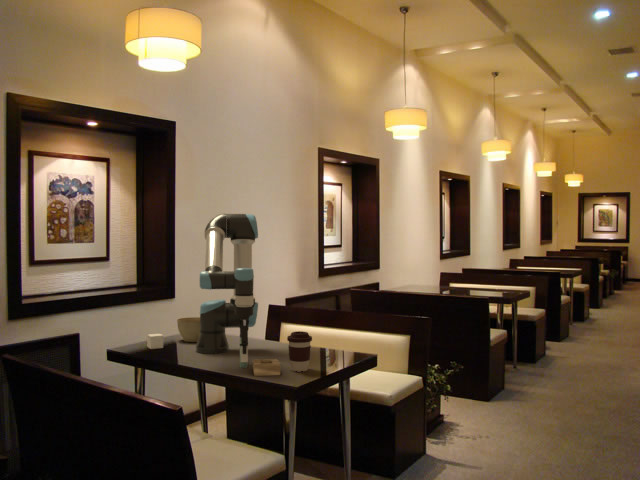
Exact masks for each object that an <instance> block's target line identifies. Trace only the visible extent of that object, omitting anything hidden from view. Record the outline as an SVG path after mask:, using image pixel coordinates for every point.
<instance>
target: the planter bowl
mask: <svg viewBox="0 0 640 480" xmlns="http://www.w3.org/2000/svg"><path fill="white" fill-rule="evenodd" d="M176 322H177V329H178V332H179V334H180V336H181V338H182V339H183V341H184V342H188V343H189V342H190V343H194V342H196V343H197V342H198V339H199V336H200V316H197V317H196V316H195V317H194V316H193V317H189V316H188V317H181V318H180V317H179V318H177V319H176Z"/></svg>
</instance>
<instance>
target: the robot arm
mask: <svg viewBox="0 0 640 480" xmlns="http://www.w3.org/2000/svg"><path fill="white" fill-rule="evenodd" d="M256 218H257V217H256V215H255V214H249V213H221V214H217V215H216V216H214V217H213V218H212V219H210V220H209V222H208V223H207V224H206V226H205V229H204V239H205V240H206V242H205V262H204V271H200V272H199V288H200V289H202V290H233V295H232V297H230V298H229V301H230V302H227V301H226V299H212V300H207V301H204V302H202V303H201V304H200V306H199V307H200V308H199V317H200V336H199V339H198V341H197V342H196V345H195V352H197V353H200V354H205V355H206V354H209V355H211V354H222V353H225V352H226V353H227V352H228V351H230V344H229V341H228V338H227V336H226V329H229V328H230V329H233V328H234V329H235V328H239V338H240V337H241V344H240V343H239V347H240V346H241V362H247V363H248V361H249V360H248V359H249V354H248V353H249V349H248V348H249V336H248V335H249V328H254V327H255V326H256V323H257V317H258V312H259V311H258V309H259V302H257V301H256V298H255V297H254V277H255V276H254V269H253V245H254V244H255V243H256V239H258V238H259V231H258V223H257V222H258V221H257V219H256ZM226 238H227V239H230V243H231V244H232V245H233V271H230V270H229V271H227V270H226V271H224V270H223V266H224V265H223V261H224V260H223V258H224V255H223V254H224V241H225V239H226Z"/></svg>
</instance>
